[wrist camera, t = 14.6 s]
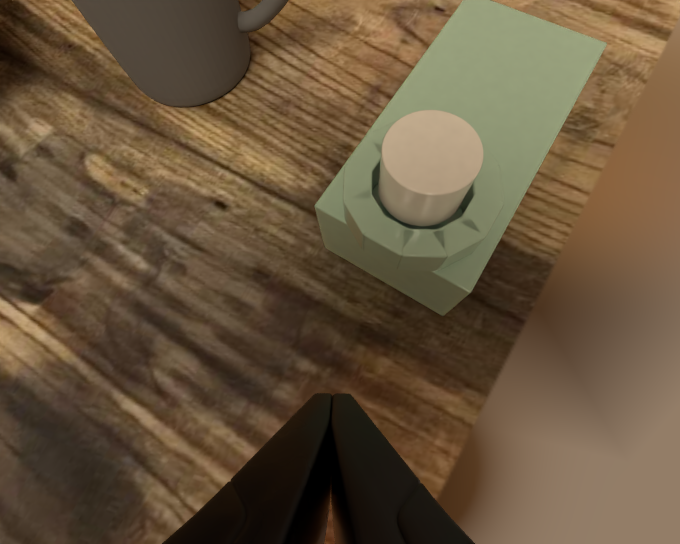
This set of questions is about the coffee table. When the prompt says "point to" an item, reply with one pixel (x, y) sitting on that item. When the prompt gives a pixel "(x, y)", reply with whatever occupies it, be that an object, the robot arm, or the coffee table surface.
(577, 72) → the green block with knob
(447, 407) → the coffee table surface
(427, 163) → the beige push button
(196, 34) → the mug
